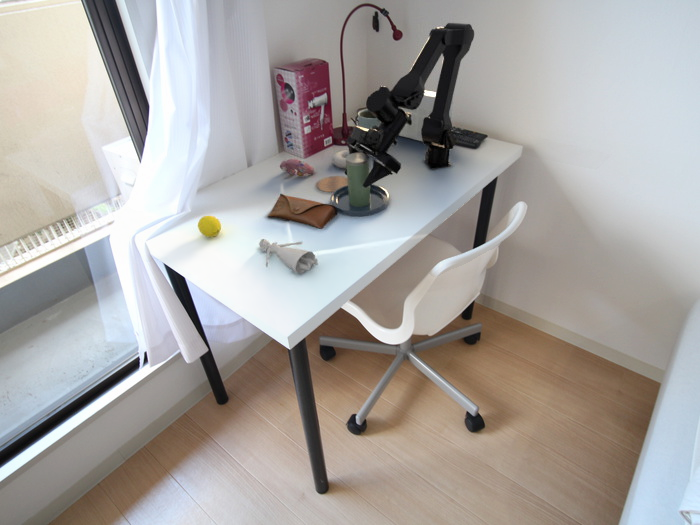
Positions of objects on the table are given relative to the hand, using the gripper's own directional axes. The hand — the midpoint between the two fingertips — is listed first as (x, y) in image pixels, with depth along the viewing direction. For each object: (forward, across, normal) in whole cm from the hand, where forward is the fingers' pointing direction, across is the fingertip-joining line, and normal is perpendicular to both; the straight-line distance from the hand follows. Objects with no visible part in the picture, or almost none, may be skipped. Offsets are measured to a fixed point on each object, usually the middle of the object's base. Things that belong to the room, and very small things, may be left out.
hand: (354, 180), depth 115 cm
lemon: (+32, -9, -21) cm, 40 cm away
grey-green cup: (-13, -29, +24) cm, 40 cm away
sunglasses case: (+16, -3, -5) cm, 17 cm away
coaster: (+5, -14, +6) cm, 15 cm away
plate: (+4, 0, +6) cm, 7 cm away
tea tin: (+4, 0, +6) cm, 7 cm away
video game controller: (+9, -27, +2) cm, 28 cm away
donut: (-3, -24, +14) cm, 28 cm away
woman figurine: (+24, +12, -13) cm, 30 cm away
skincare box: (-26, -26, +36) cm, 51 cm away
